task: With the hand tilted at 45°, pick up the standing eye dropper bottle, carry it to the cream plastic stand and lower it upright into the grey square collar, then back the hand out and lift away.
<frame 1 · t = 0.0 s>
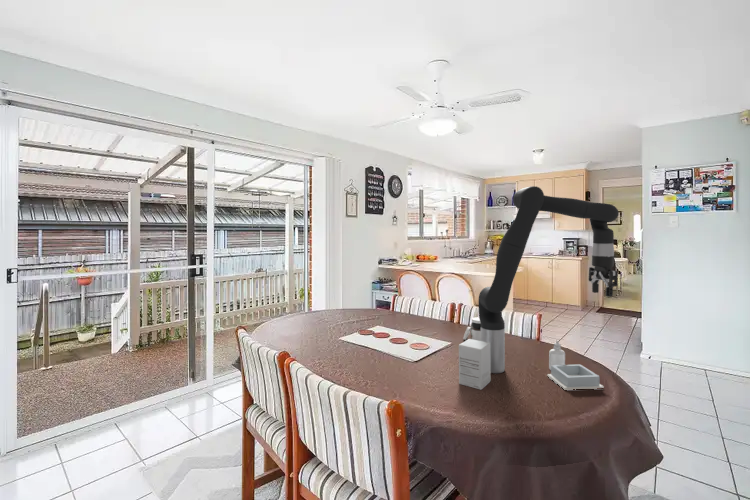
hand: (602, 294, 149), 29 cm above the table, tool pointing down, fingers open, 8 cm apart
supplement box: (474, 383, 137), on the table
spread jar: (475, 341, 185), on the table
bottle stand: (574, 382, 135), on the table
eye dropper bottle: (556, 370, 147), on the table
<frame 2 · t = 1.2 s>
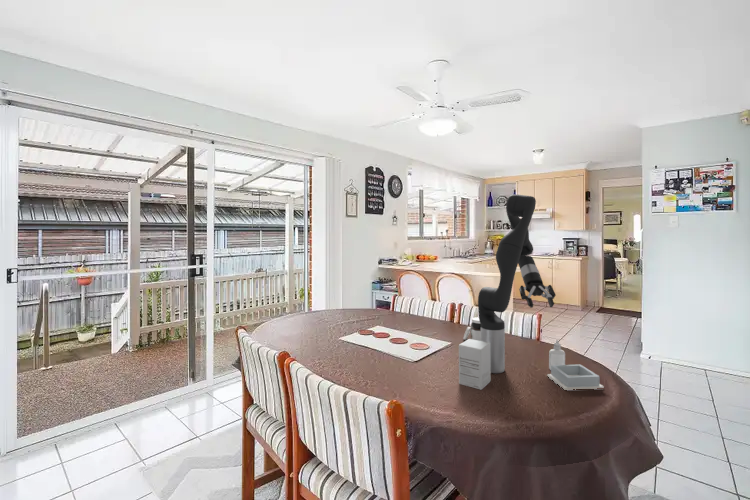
hand: (542, 306, 159), 23 cm above the table, tool tilted 45°, fingers open, 8 cm apart
nothing on the table moved.
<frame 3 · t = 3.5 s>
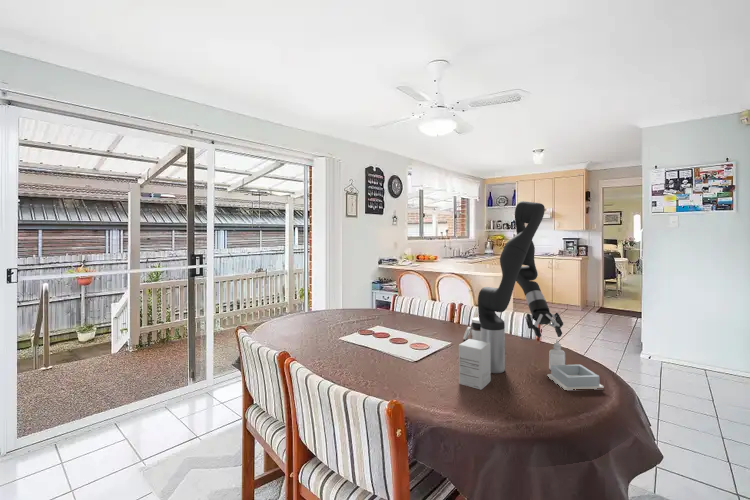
hand: (550, 336, 152), 12 cm above the table, tool tilted 45°, fingers open, 8 cm apart
nothing on the table moved.
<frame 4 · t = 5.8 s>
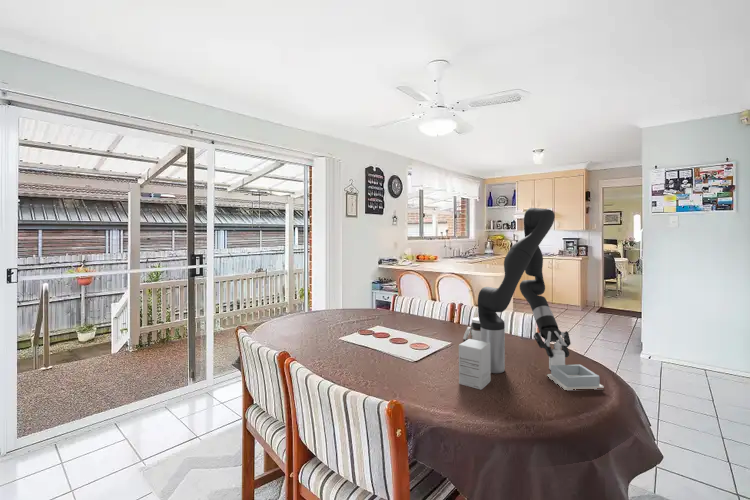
hand: (559, 356, 145), 6 cm above the table, tool tilted 45°, fingers closed on eye dropper bottle, 5 cm apart
eye dropper bottle: (556, 370, 147), on the table, touching gripper
everything else where it was.
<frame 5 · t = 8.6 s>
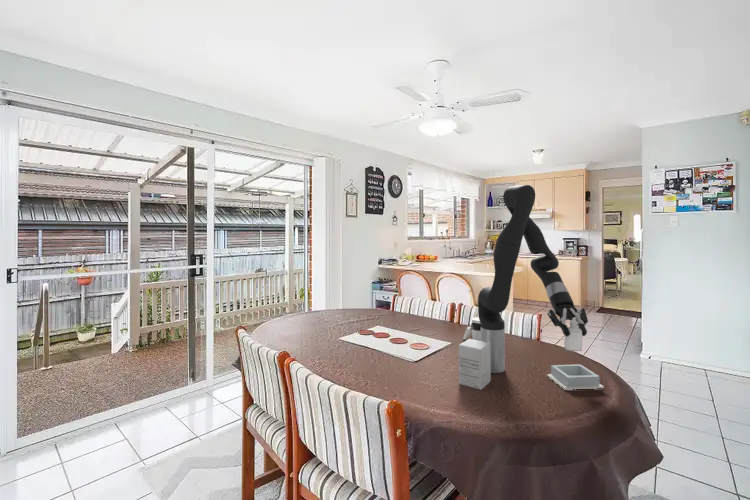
hand: (576, 335, 133), 18 cm above the table, tool tilted 45°, fingers closed on eye dropper bottle, 5 cm apart
eye dropper bottle: (572, 350, 136), point 12 cm above the table, touching gripper
everything else where it was.
when the fingers open (9 cm above the table, at t = 11.4 s): eye dropper bottle drops 2 cm, resting on bottle stand.
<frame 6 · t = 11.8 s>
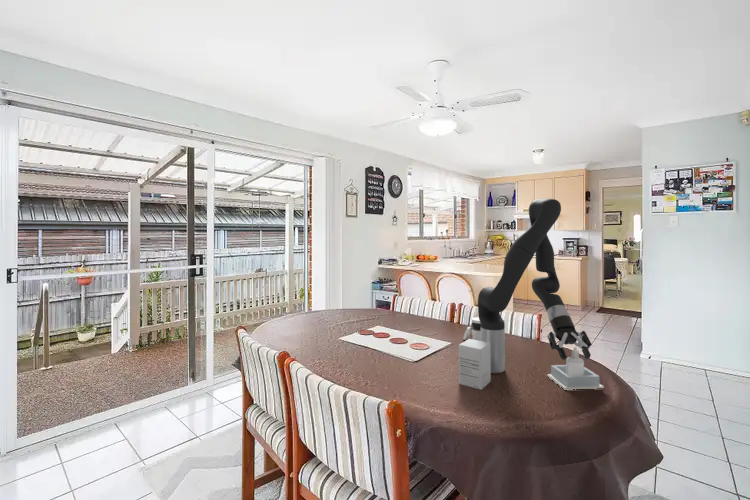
hand: (576, 358, 133), 9 cm above the table, tool tilted 45°, fingers open, 8 cm apart
eye dropper bottle: (574, 380, 135), point 1 cm above the table, touching bottle stand
everything else where it was.
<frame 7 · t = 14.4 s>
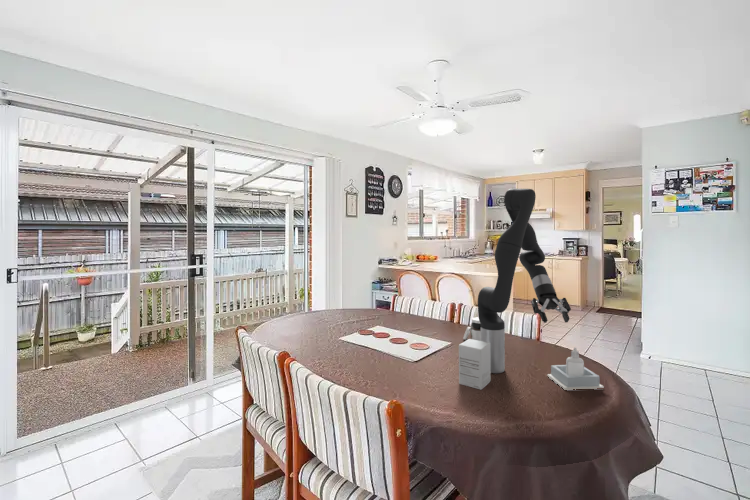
hand: (556, 321, 146), 20 cm above the table, tool tilted 45°, fingers open, 8 cm apart
nothing on the table moved.
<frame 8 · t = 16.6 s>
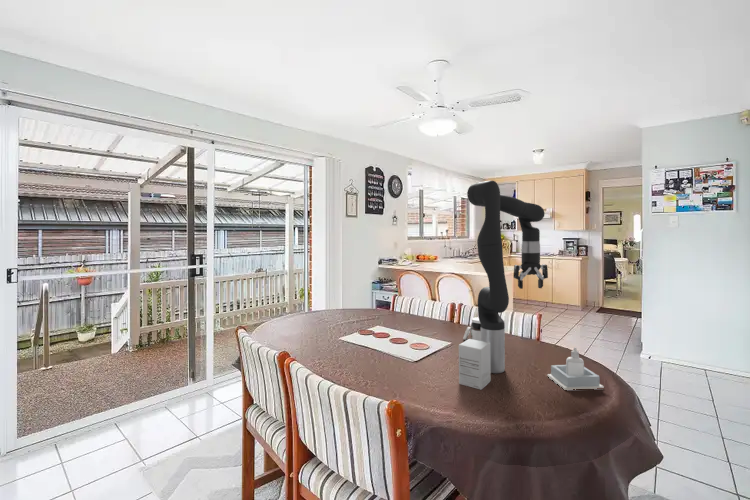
hand: (530, 288, 162), 30 cm above the table, tool pointing down, fingers open, 8 cm apart
nothing on the table moved.
at the end: eye dropper bottle 0.4 cm off-centre on the bottle stand, point 0.8 cm above the bottle stand's base; eye dropper bottle tilted 0°; the gripper is holding nothing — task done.
